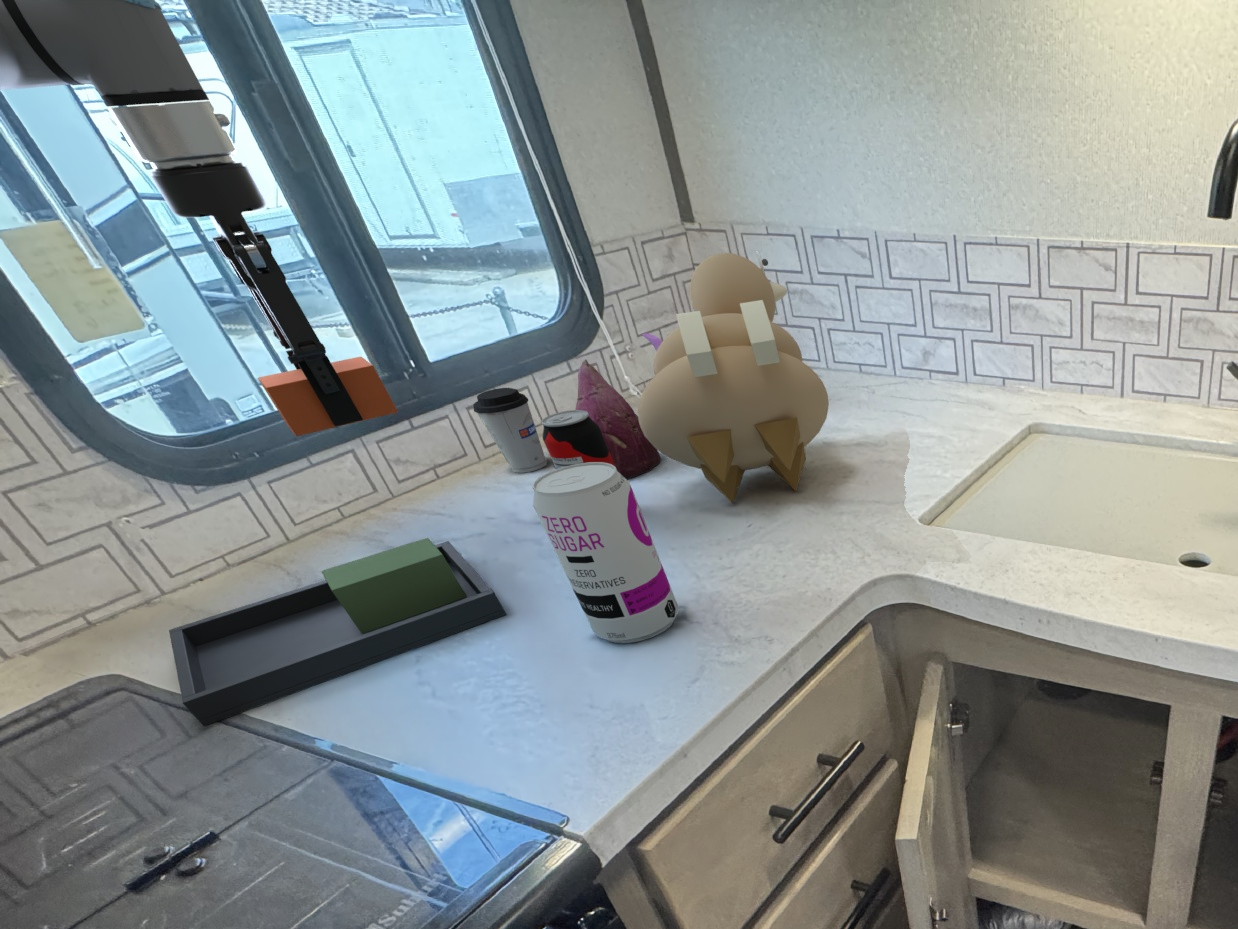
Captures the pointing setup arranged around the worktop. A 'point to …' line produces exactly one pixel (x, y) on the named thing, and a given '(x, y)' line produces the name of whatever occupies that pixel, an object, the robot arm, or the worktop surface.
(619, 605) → the supplement can
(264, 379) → the orange block
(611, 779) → the worktop surface
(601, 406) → the vegetable
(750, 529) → the worktop surface
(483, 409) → the coffee cup
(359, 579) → the green block
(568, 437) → the beverage can
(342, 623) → the backing tray
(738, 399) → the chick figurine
